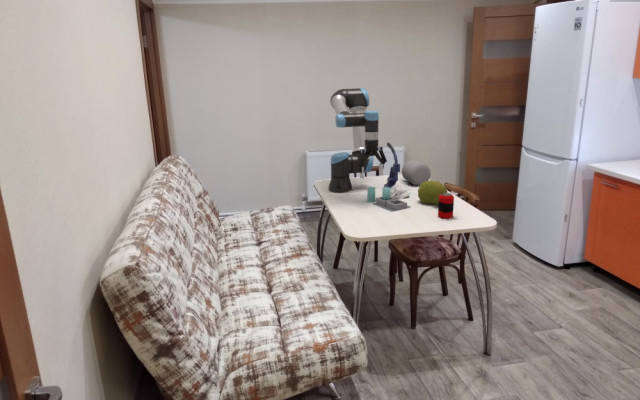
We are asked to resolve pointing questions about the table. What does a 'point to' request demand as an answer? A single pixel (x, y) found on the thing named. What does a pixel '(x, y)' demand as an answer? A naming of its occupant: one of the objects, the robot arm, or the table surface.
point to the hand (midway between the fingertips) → (371, 176)
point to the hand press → (393, 170)
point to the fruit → (431, 192)
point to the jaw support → (398, 191)
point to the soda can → (445, 205)
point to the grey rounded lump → (416, 172)
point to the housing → (391, 204)
